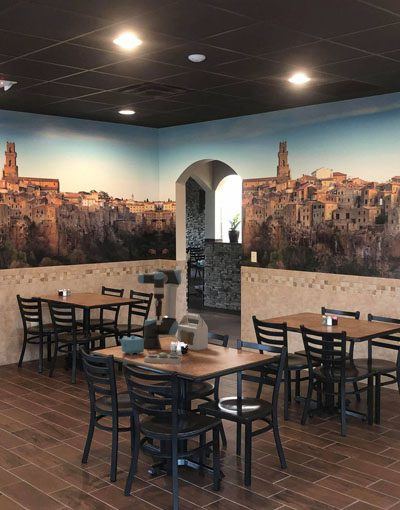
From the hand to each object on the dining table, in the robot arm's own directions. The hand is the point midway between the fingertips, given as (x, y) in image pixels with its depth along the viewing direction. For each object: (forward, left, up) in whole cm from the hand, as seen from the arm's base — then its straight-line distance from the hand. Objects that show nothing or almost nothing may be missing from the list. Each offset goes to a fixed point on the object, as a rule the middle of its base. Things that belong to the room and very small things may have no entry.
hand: (158, 324), depth 479 cm
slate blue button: (+14, +15, -19) cm, 28 cm away
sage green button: (+14, +7, -20) cm, 26 cm away
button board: (+14, +7, -24) cm, 29 cm away
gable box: (-44, +18, -25) cm, 53 cm away
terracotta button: (+14, -1, -19) cm, 24 cm away
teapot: (-6, -23, -25) cm, 34 cm away
